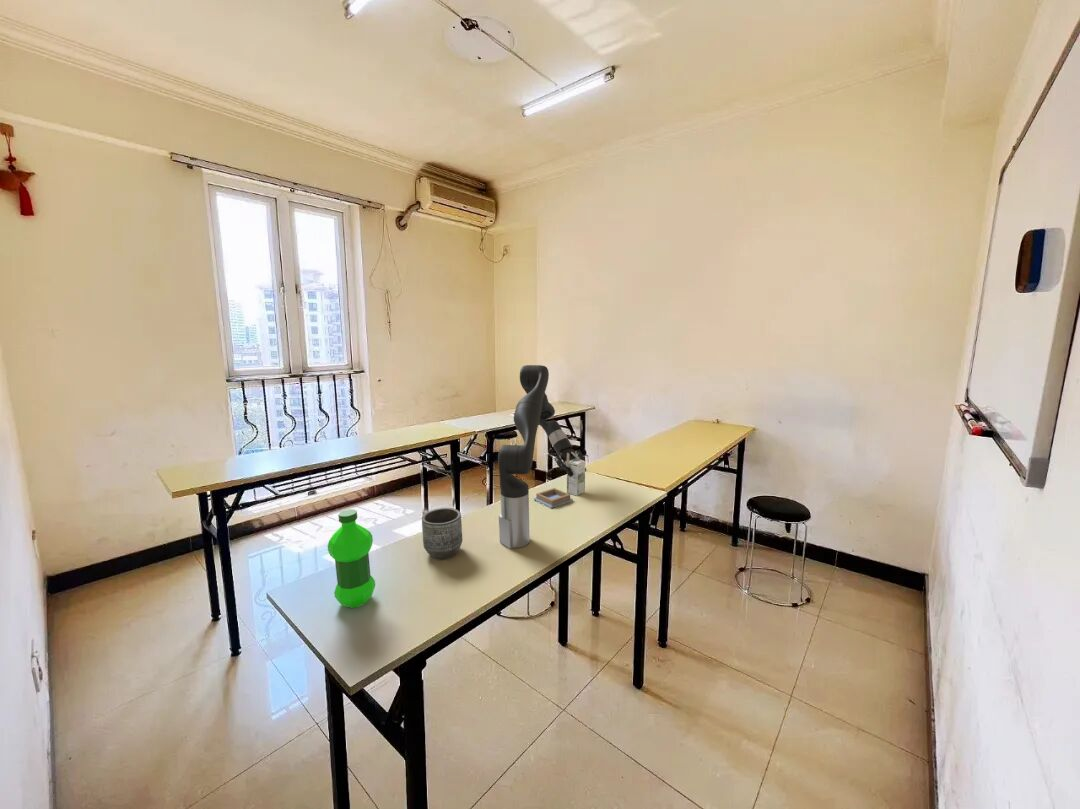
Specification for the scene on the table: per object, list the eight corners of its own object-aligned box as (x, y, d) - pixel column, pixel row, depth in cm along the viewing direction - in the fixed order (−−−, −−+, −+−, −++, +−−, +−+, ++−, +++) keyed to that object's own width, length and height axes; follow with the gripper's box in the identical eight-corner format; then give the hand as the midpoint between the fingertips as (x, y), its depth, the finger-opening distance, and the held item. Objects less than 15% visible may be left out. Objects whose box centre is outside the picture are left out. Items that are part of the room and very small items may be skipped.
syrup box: (574, 489, 188) (574, 457, 186) (585, 492, 185) (585, 460, 182) (566, 493, 184) (566, 461, 181) (577, 496, 180) (577, 463, 178)
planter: (428, 567, 128) (426, 527, 126) (420, 549, 139) (417, 512, 136) (467, 557, 133) (466, 518, 131) (456, 540, 144) (455, 504, 142)
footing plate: (550, 508, 168) (550, 502, 168) (533, 500, 177) (533, 493, 176) (572, 500, 176) (572, 494, 175) (555, 493, 184) (555, 487, 184)
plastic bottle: (366, 585, 119) (358, 501, 115) (384, 601, 112) (376, 512, 108) (329, 602, 112) (319, 513, 108) (345, 620, 105) (335, 525, 100)
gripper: (551, 440, 181) (570, 473, 175) (576, 434, 190) (594, 466, 183) (544, 449, 186) (561, 482, 180) (568, 443, 195) (586, 474, 188)
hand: (578, 473), depth 181 cm, fingers open, 7 cm apart
